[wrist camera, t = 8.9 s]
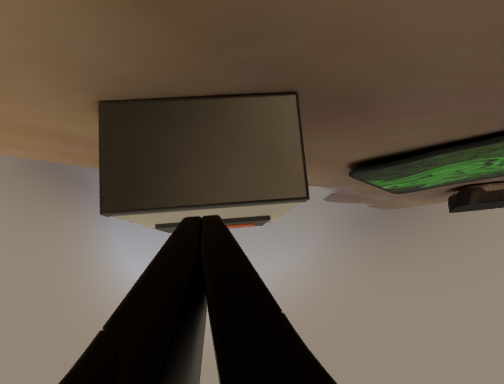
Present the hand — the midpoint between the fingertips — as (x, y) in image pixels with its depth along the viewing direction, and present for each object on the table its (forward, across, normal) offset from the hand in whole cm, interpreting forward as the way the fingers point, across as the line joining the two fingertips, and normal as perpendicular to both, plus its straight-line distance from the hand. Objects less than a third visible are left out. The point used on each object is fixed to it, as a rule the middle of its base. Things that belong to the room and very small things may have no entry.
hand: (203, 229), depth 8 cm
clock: (+7, 0, +2) cm, 8 cm away
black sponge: (+36, -45, +27) cm, 64 cm away
